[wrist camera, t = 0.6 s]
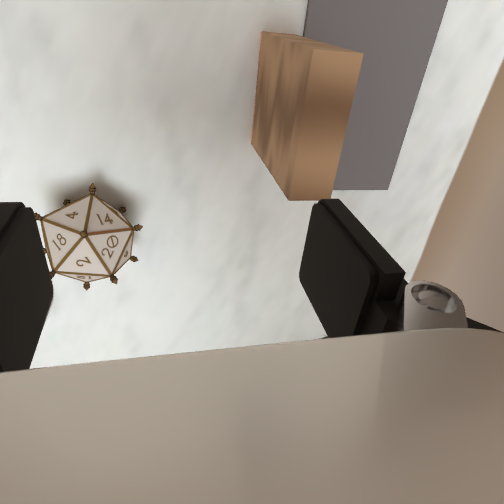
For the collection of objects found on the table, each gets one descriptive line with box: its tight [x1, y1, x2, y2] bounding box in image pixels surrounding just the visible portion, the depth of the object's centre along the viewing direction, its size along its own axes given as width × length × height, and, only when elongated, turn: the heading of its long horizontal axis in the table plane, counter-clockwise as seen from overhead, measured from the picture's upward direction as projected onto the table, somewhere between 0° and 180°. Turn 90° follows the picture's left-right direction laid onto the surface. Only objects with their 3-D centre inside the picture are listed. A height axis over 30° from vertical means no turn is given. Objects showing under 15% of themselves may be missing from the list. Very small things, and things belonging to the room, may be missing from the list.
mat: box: [303, 0, 448, 190], centre depth 34 cm, size 18×12×1 cm, turn 174°
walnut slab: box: [251, 32, 364, 201], centre depth 28 cm, size 9×3×12 cm, turn 174°
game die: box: [34, 183, 143, 291], centre depth 32 cm, size 9×8×10 cm
